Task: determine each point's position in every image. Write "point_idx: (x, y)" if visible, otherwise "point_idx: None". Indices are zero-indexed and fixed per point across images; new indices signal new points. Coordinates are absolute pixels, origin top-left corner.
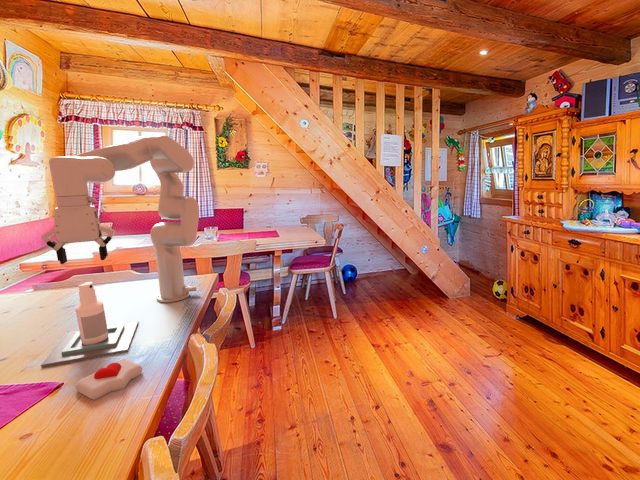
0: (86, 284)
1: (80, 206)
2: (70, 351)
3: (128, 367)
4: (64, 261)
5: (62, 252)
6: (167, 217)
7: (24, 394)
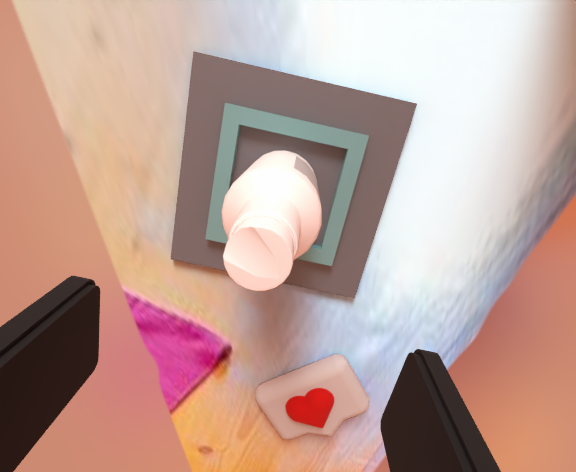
0: (263, 281)
1: None
2: (226, 242)
3: (346, 410)
4: (90, 353)
5: (18, 441)
6: None
7: (170, 346)
